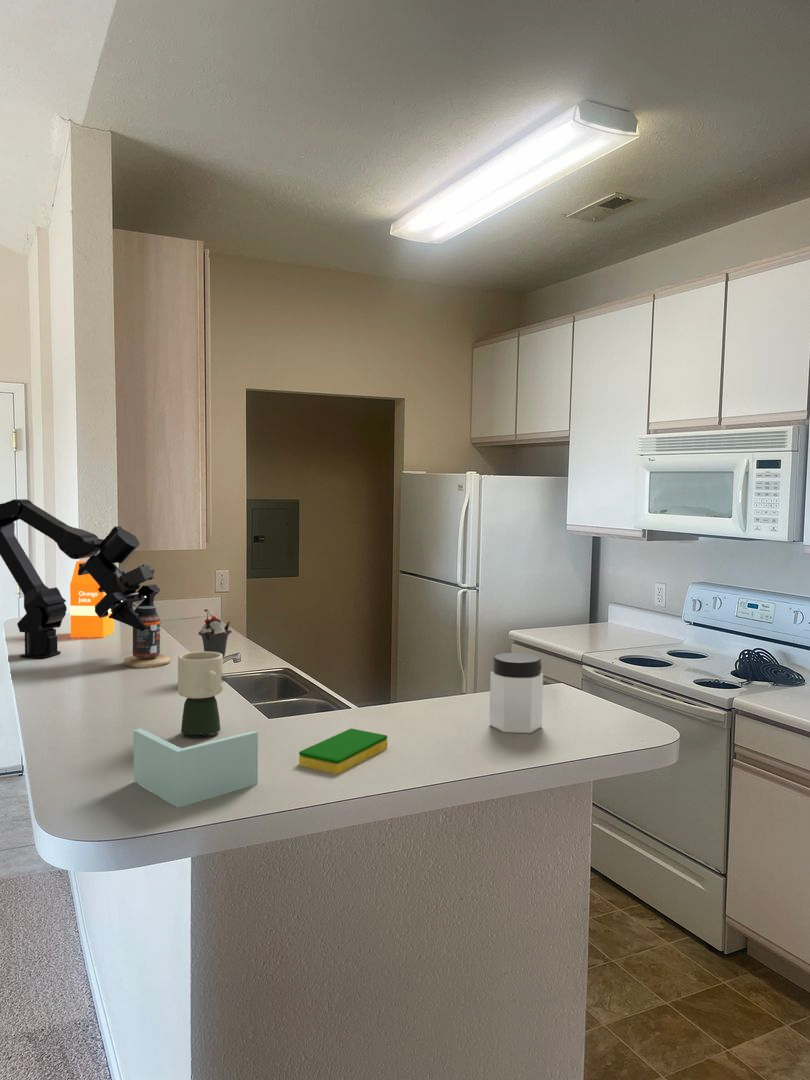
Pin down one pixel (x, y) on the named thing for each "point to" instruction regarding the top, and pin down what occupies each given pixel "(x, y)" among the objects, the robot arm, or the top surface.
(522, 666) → the jar
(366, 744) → the dish sponge
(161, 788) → the l-shaped corner panel
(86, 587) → the orange juice
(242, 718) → the top surface
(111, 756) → the top surface
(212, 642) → the sundae
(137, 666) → the plate
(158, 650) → the supplement bottle
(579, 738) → the top surface
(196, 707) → the character mug
